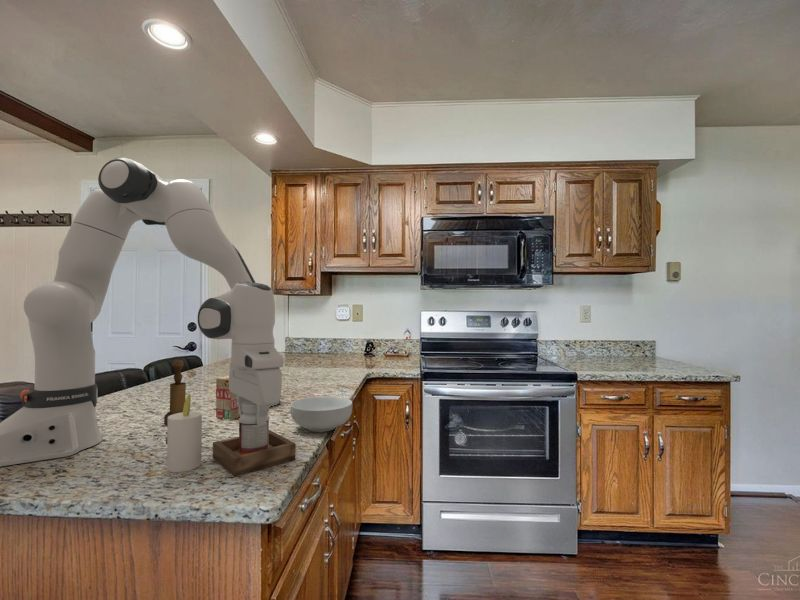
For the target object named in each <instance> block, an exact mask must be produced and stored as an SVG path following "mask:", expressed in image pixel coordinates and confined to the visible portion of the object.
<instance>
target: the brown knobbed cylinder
mask: <svg viewBox="0 0 800 600" xmlns="http://www.w3.org/2000/svg"><path fill="white" fill-rule="evenodd" d="M184 366H185V363H184V361H183V359H175V360H173V361H172V363H171V367H172V369H173V370H174V375H173V380H174V382H172V383H170V384H169V387H170V388H169V411H168V412H167V413H166V414H164V417H163V419H164V420H163V423H164V425H166V426H168V416H170V415H172V414H176V413H181V412H183V407H184V403H185V400H186V391H187V390H186V388H187V387H186V386H187V383H186V382H182V380H183V374H182V370H183V368H184Z"/></svg>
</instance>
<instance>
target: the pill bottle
mask: <svg viewBox="0 0 800 600" xmlns="http://www.w3.org/2000/svg"><path fill="white" fill-rule="evenodd" d="M242 412H243V414H242V415H241V416H240V418H238V437H239V455H243V454H247V453H251V452H255V451H259V450H263V449H267V448H269V430H270V429H269V428H270V427H269V426H270V416H269V414H267V416H266V424H265V425H260V426H259V425H257V424H256V423H255V416H257V412H258V409H257V404H255V403H253V402H251V401H245V402H243V403H242Z"/></svg>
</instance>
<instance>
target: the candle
mask: <svg viewBox="0 0 800 600" xmlns="http://www.w3.org/2000/svg"><path fill="white" fill-rule="evenodd" d="M191 398H192V396H191V394H190V393H189V394H188V395H186V396H185V403H184V407H183V412H181V413H176V414H172V415H170V416H168V425H166V426H167V428H166V429H167V431H165V435H166V437H165V445H167V446H166V470H167V472H171V473H183V472H188V471H192V470H195V469H196V468H199V467H200V466H201V465H202V440H203V439H202V438H203V437H202V434H203V432H202V429H203V427H202V423H203V422H202V421H203V413H202V412H200V411H191Z"/></svg>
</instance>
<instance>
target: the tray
mask: <svg viewBox="0 0 800 600" xmlns="http://www.w3.org/2000/svg"><path fill="white" fill-rule="evenodd" d="M296 445H297V444H296V442H293V441H291V440H289V439H288V438H285V437H284V436H282V435H280V434H278V433H277V432H274V431H272V430H271V429H269V448H267V449H263V450H259V451H255V452H251V453H247V454H243V455H239V436H235V437H230V438H226V439H222V440H217V441H214V442H212V460H213V461H215V462H216V463H217V464H219V465H220V466H221V467H222V468H223V469H225V471H227V472H228V473H229V474H230V475H232V476H233V477H234V478H236V477H239V476H243V475H246V474H249V473H253V472H256V471H260V470H263V469H264V468H265V469H267V468H271V466H272V467H275V466H278V465H282V464H285V463H289V462H292V461H295V460H296V450H297V449H296V447H297V446H296ZM265 469H264V470H265Z"/></svg>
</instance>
